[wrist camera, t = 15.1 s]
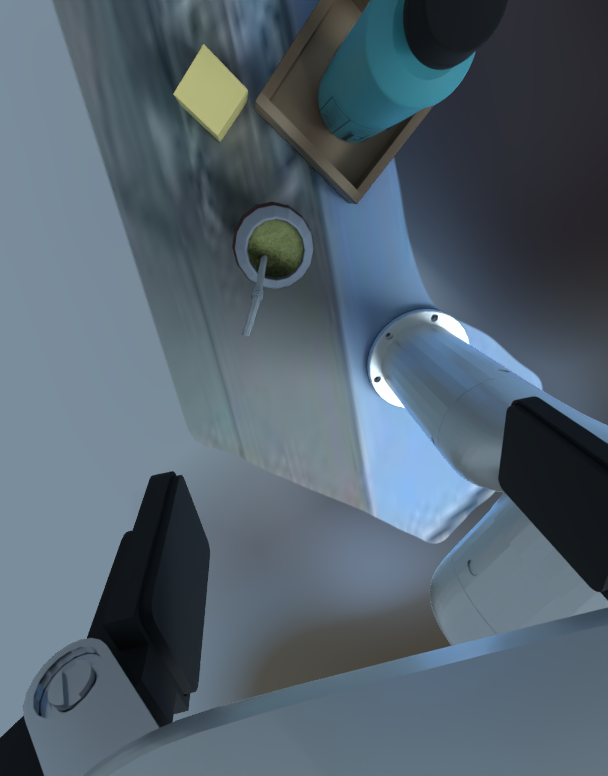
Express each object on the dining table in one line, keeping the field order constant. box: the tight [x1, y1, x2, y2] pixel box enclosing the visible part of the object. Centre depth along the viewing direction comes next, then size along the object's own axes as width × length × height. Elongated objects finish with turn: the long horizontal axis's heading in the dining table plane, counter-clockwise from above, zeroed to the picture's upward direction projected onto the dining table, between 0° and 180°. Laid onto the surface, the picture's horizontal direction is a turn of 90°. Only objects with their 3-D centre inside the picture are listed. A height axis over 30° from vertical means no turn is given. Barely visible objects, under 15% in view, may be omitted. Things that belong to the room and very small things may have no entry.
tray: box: [254, 0, 434, 204], centre depth 32 cm, size 12×12×3 cm
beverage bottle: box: [318, 0, 508, 144], centre depth 24 cm, size 6×7×20 cm
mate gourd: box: [233, 202, 314, 337], centre depth 31 cm, size 8×8×15 cm
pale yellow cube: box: [174, 44, 248, 142], centre depth 31 cm, size 4×4×4 cm
